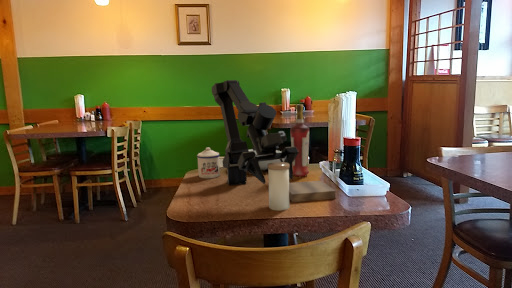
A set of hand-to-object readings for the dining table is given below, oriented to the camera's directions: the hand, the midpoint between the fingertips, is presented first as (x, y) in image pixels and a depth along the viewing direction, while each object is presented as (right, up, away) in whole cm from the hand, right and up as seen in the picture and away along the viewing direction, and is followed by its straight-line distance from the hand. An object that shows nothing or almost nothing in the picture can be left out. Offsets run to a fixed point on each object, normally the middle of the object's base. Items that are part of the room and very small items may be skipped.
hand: (278, 180), depth 108 cm
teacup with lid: (-24, -2, +42) cm, 49 cm away
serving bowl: (-5, 0, +54) cm, 54 cm away
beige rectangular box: (+10, -6, +13) cm, 17 cm away
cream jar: (0, -8, +1) cm, 8 cm away
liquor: (+11, -2, +38) cm, 40 cm away
